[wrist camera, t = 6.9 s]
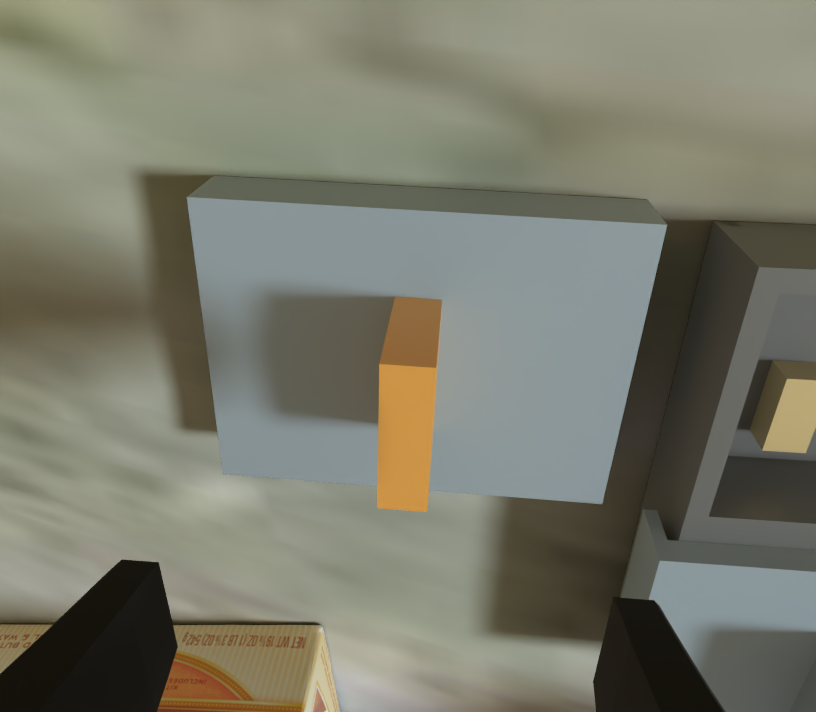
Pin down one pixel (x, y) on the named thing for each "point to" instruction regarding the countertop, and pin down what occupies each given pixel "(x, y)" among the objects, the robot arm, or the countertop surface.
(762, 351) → the parts tub
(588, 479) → the tabbed lid segment
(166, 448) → the countertop surface
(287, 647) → the coffeecake box
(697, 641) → the lid segment
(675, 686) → the robot arm
